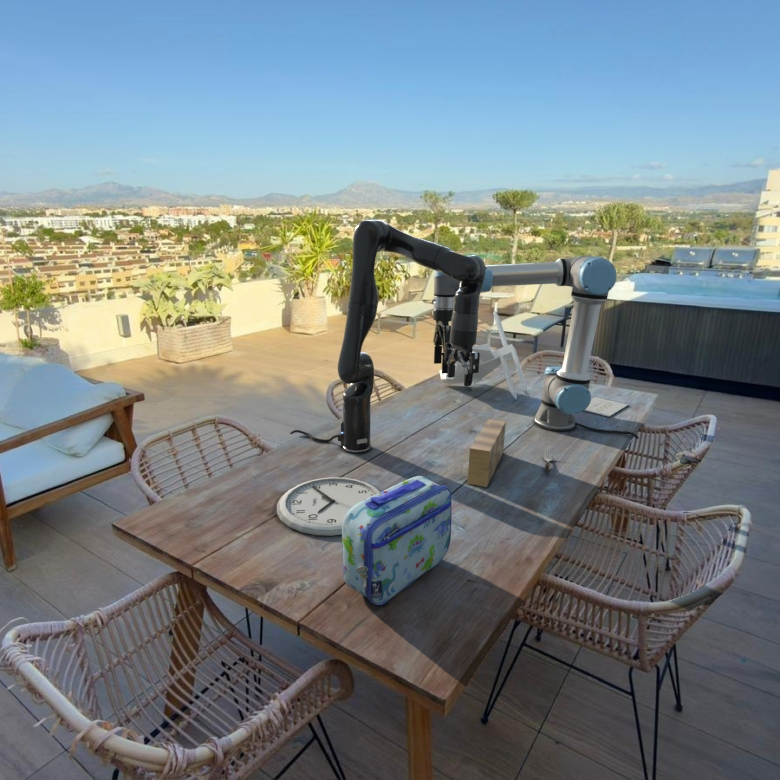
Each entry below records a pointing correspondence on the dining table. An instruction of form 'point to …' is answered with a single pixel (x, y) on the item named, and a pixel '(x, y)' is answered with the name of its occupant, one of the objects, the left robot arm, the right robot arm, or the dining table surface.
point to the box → (486, 452)
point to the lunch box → (395, 537)
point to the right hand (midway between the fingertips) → (441, 368)
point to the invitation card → (604, 406)
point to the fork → (548, 460)
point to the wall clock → (322, 504)
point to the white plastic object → (491, 363)
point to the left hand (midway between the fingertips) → (459, 381)
